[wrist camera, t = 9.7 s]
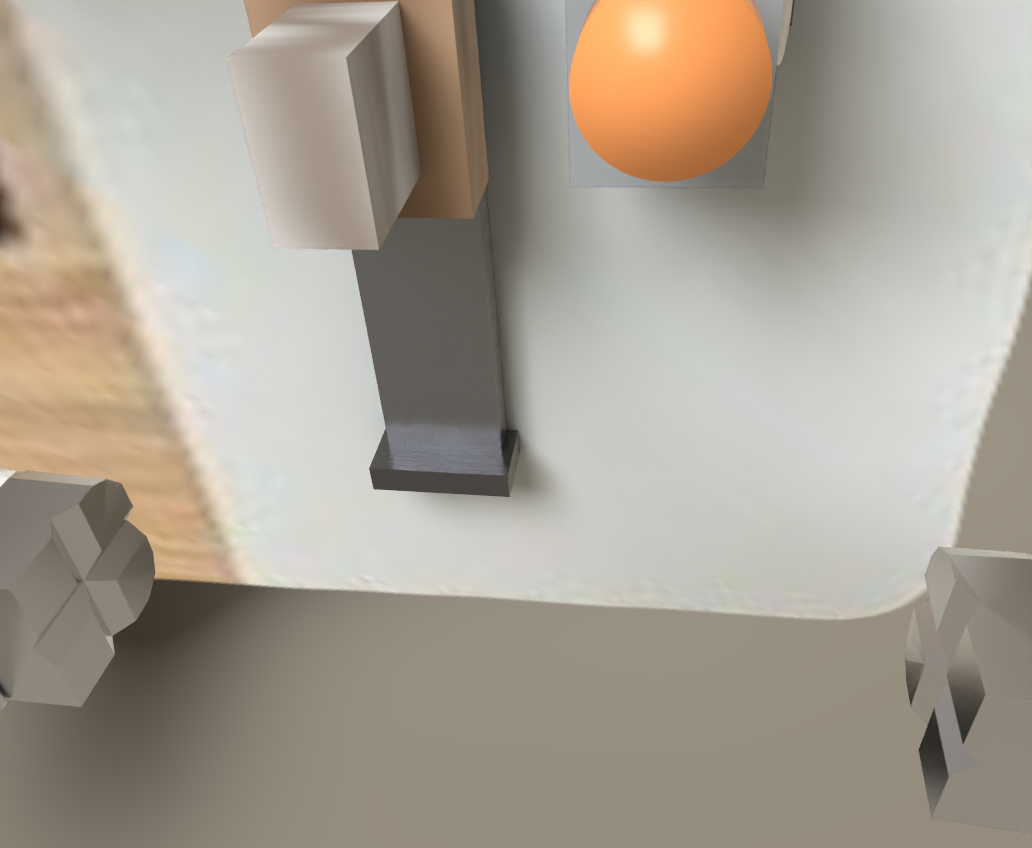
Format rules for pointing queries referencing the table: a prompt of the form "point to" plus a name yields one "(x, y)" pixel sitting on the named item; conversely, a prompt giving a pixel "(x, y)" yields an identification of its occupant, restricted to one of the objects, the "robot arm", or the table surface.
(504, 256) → the table surface
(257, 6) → the carriage
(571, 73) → the button
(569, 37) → the cabinet
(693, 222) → the table surface
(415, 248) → the rail
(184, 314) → the table surface
